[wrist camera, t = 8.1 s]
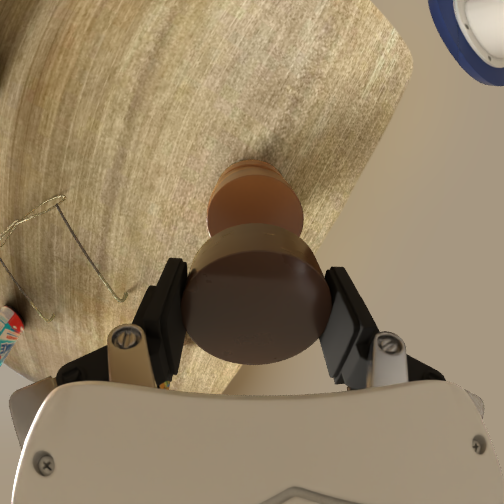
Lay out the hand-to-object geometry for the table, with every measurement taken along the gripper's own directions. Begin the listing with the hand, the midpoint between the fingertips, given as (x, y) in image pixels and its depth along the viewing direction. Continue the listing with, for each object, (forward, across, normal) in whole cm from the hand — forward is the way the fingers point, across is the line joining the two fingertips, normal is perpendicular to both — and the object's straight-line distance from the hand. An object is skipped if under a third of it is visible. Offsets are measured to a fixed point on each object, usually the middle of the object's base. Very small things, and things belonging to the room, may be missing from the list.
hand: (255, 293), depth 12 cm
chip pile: (+15, 0, 0) cm, 15 cm away
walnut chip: (+1, 0, 0) cm, 1 cm away
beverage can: (+15, +41, +22) cm, 49 cm away
